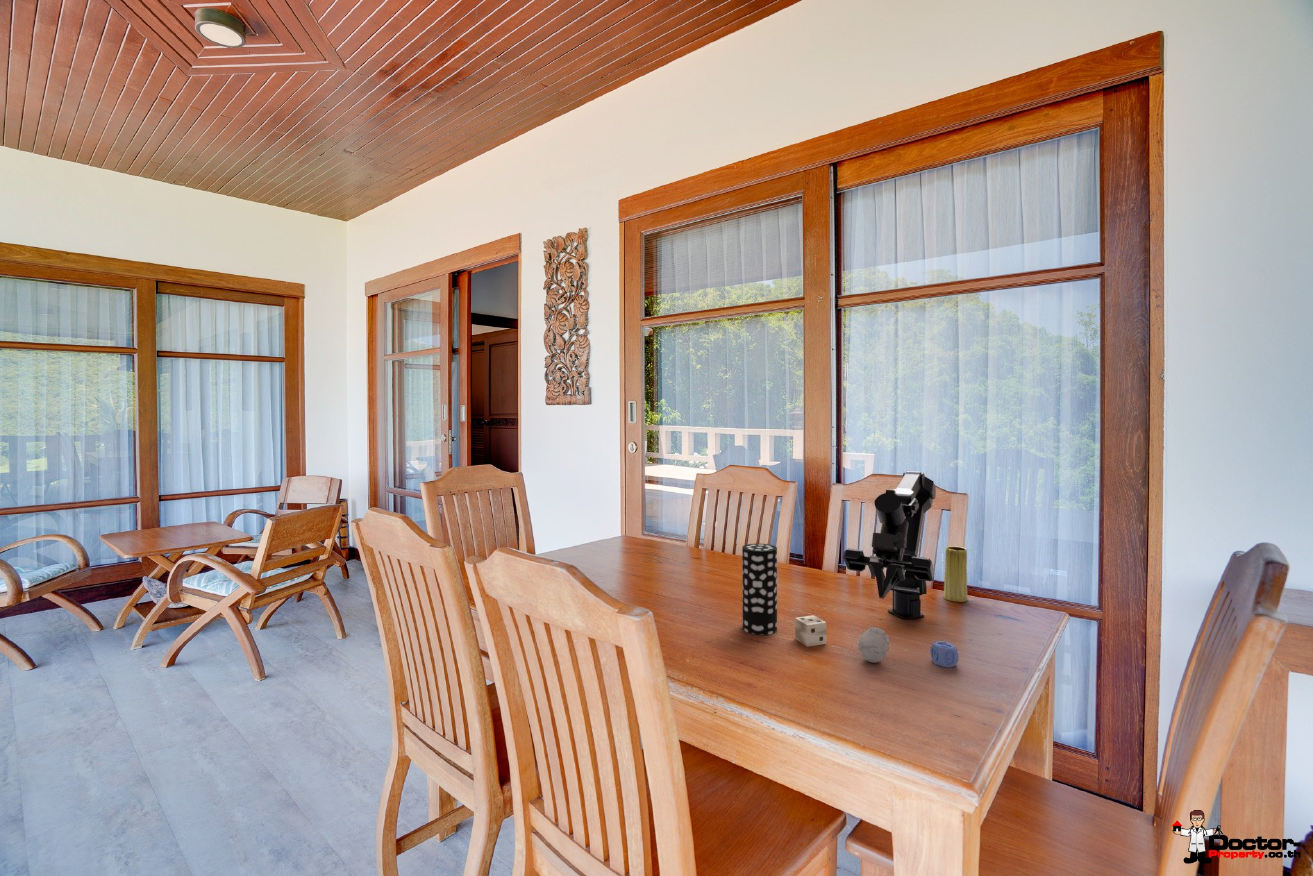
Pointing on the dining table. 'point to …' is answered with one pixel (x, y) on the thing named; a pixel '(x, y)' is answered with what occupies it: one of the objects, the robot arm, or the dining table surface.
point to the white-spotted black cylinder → (759, 588)
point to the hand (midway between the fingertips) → (881, 597)
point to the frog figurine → (874, 644)
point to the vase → (955, 574)
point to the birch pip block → (810, 630)
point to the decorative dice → (944, 654)
